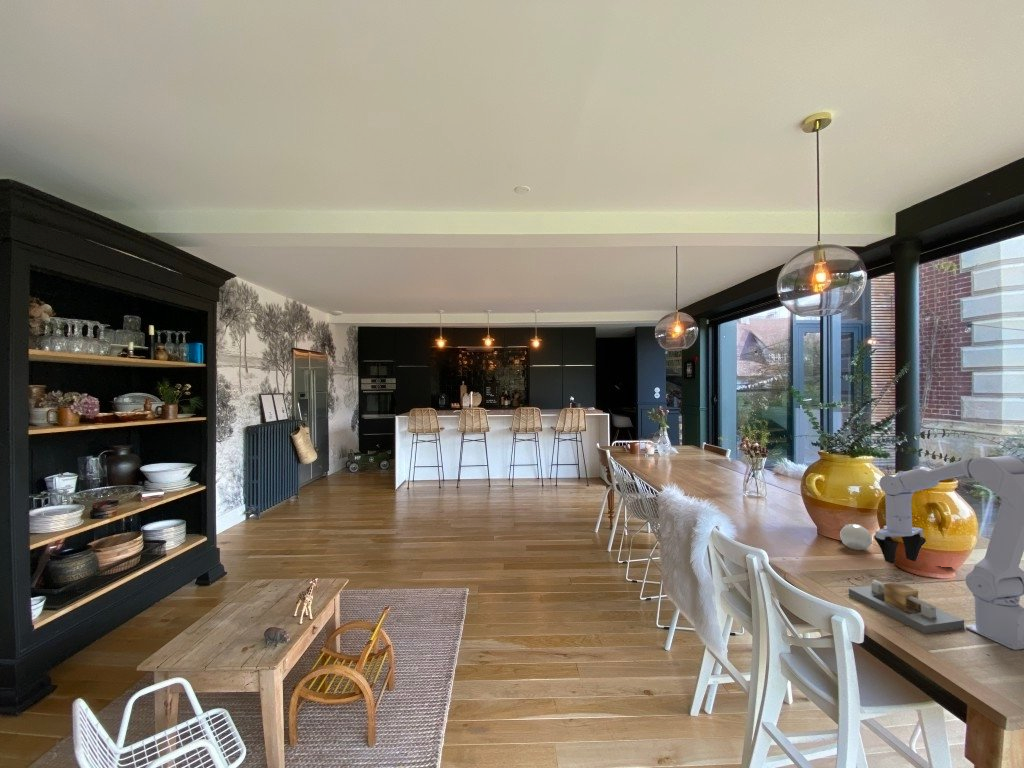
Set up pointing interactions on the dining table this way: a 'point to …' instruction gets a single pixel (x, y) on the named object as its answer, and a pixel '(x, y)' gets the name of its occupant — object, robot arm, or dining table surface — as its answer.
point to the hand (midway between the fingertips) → (900, 561)
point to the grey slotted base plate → (924, 621)
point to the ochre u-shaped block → (900, 595)
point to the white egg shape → (855, 537)
